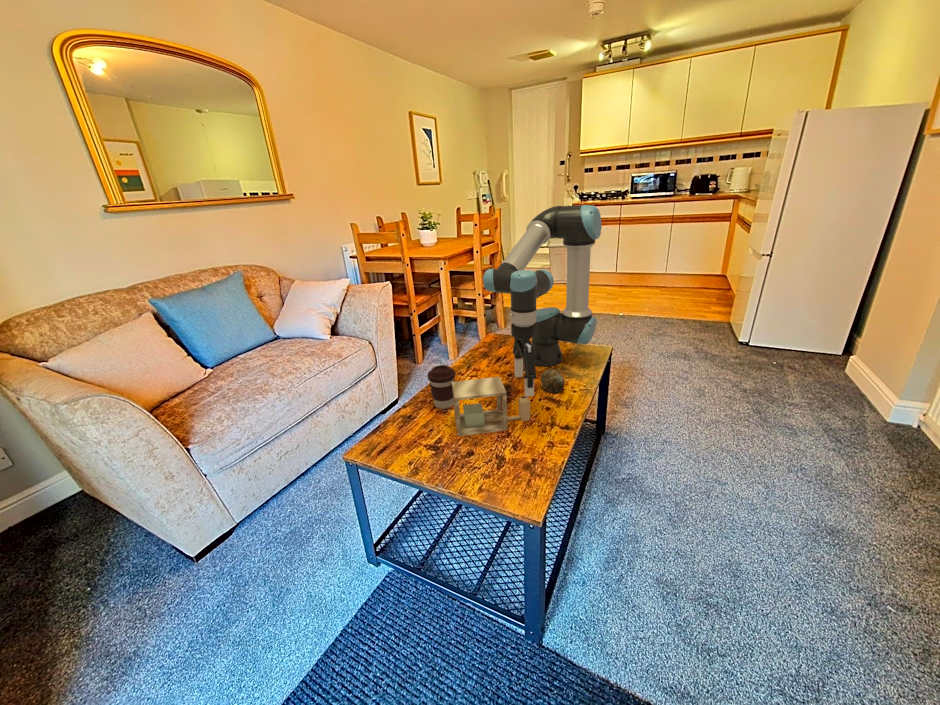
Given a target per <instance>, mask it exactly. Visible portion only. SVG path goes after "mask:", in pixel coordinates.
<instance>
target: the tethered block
mask: <svg viewBox="0 0 940 705" xmlns="http://www.w3.org/2000/svg"><path fill="white" fill-rule="evenodd" d="M484 411H485V410H484V409H483V404H482V403H481V402H479V403H472V404H463V413H464V421H465V426H466V428H474V427H482V426H485V424H484V423H493V422H501V421H503V418H495V419H486V420H484ZM515 420H516V421H517V420H520V422H526V421H531V401H530V399H529V396H527V397H520V398H518V415H513V416H507V422H508V421H515Z"/></svg>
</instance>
